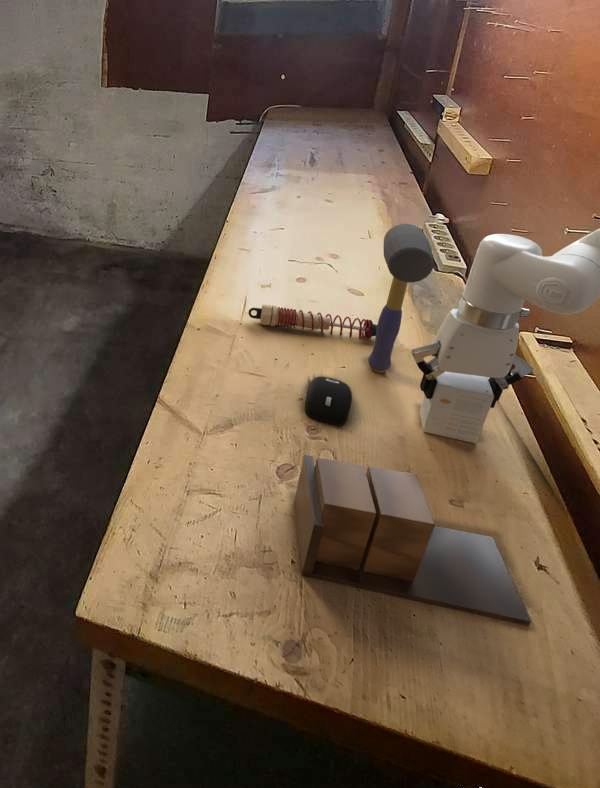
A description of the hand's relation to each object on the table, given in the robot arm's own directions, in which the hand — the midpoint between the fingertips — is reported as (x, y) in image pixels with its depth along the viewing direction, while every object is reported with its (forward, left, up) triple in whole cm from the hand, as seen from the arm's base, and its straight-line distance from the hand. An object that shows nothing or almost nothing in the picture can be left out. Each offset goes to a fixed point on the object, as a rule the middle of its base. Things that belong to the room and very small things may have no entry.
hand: (456, 397), depth 95 cm
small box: (0, 0, -7) cm, 7 cm away
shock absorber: (+18, -27, -7) cm, 33 cm away
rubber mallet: (+8, -15, -7) cm, 18 cm away
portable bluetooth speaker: (+19, -2, -7) cm, 20 cm away
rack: (+14, +29, -7) cm, 33 cm away
